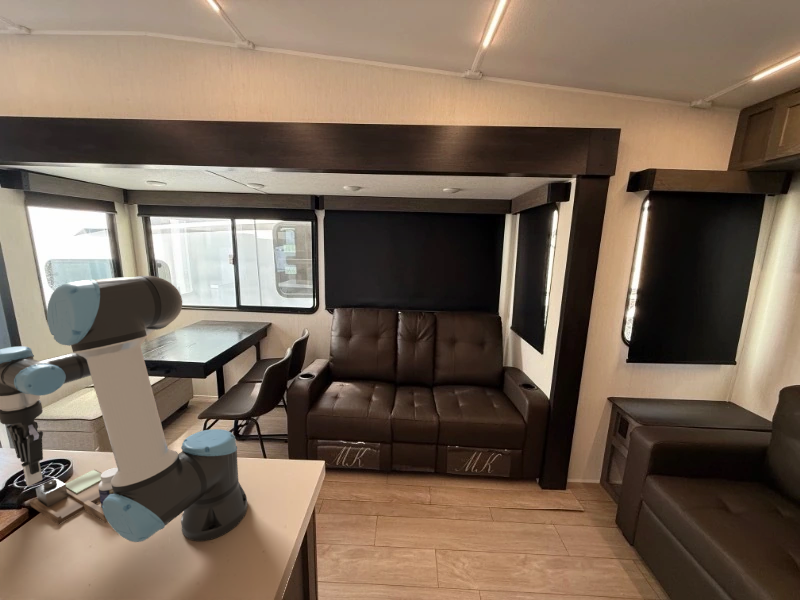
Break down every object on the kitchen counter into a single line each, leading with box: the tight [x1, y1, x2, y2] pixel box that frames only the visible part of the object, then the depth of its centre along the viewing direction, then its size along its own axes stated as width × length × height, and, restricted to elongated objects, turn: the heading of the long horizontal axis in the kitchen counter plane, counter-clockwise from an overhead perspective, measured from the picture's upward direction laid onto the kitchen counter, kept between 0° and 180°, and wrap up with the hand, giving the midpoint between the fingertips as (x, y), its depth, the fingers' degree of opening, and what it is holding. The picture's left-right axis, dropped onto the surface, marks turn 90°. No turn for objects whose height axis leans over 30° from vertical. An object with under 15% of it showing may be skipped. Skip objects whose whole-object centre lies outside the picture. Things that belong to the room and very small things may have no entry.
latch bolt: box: [35, 478, 68, 507], centre depth 88 cm, size 5×4×5 cm
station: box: [29, 468, 108, 525], centre depth 89 cm, size 24×14×2 cm, turn 68°
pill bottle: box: [98, 467, 118, 508], centre depth 88 cm, size 5×5×10 cm
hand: (34, 481), depth 91 cm, fingers closed
